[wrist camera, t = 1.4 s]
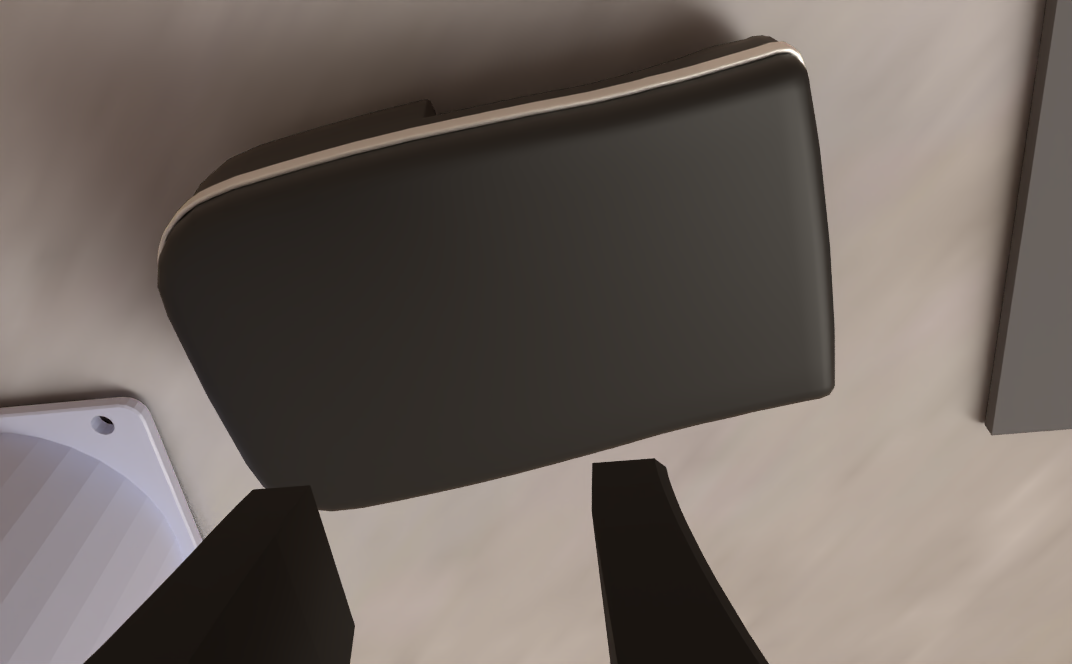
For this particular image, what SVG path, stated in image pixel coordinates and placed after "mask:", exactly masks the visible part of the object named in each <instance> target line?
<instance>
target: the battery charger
mask: <svg viewBox="0 0 1072 664" xmlns="http://www.w3.org/2000/svg"><path fill="white" fill-rule="evenodd" d="M175 224H176V225H175ZM157 264H158V289H159V292H160V295H161V298H162V301H163V304H164V307H165V310H166V313H167V316H168V318H169V320H170V322H171V324H172V326H173V328H174V330H175V332H176V334H177V336H178V338H179V340H180V342H181V344H182V346H183V348H184V350H185V352H186V354H187V356H188V358H189V360H190V362H191V364H192V366H193V368H194V370H195V372H196V374H197V376H198V378H199V380H200V382H201V384H202V386H203V388H204V390H205V392H206V394H207V396H208V398H209V399H210V401H211V403H212V405H213V406H214V408H215V410H216V412H217V414H218V415H219V417H220V419H221V421H222V422H223V424H224V426H225V428H226V429H227V431H228V433H229V435H230V436H231V438H232V440H233V442H234V443H235V445H236V447H237V449H238V450H239V452H240V454H241V456H242V457H243V459H244V461H245V463H246V464H247V466H248V467H249V468H250V470H251V471H252V472H253V474H254V475H255V476H256V478H257V479H258V480H259V481H260V483H261V484H262V485H263V487H264V488H266V489H267V488H280V487H293V486H306V485H310V486H311V489H312V492H313V496H314V499H315V502H316V505H317V508H318V510H324V511H339V510H348V509H357V508H365V507H370V506H375V505H380V504H385V503H390V502H395V501H400V500H404V499H409V498H414V497H419V496H423V495H428V494H433V493H438V492H442V491H447V490H451V489H456V488H460V487H465V486H469V485H473V484H477V483H481V482H486V481H490V480H494V479H498V478H502V477H506V476H510V475H514V474H518V473H522V472H526V471H530V470H533V469H537V468H541V467H545V466H548V465H552V464H556V463H560V462H563V461H567V460H570V459H574V458H578V457H582V456H585V455H589V454H593V453H596V452H600V451H604V450H607V449H611V448H615V447H618V446H622V445H625V444H629V443H632V442H635V441H639V440H642V439H646V438H649V437H653V436H656V435H660V434H663V433H667V432H671V431H675V430H679V429H683V428H687V427H691V426H695V425H699V424H703V423H708V422H712V421H717V420H722V419H726V418H731V417H735V416H739V415H743V414H747V413H751V412H755V411H760V410H765V409H770V408H775V407H780V406H784V405H789V404H794V403H799V402H804V401H809V400H814V399H820V398H823V397H825V396H827V395H830V393H831V392H832V390H833V389H834V386H835V334H834V311H833V292H832V274H831V257H830V242H829V232H828V222H827V213H826V203H825V194H824V184H823V175H822V165H821V155H820V146H819V140H818V133H817V126H816V120H815V114H814V108H813V102H812V96H811V90H810V84H809V77H808V73H807V70H806V66H805V63H804V60H803V58H802V56H801V53H800V52H799V51H797V50H796V49H795V48H794V47H792V46H791V45H789V44H787V43H786V42H784V41H781V42H778V41H777V40H775V39H773V38H772V37H769V36H763V35H761V36H752V37H749V38H747V39H744V40H739V41H735V42H730V43H726V44H722V45H717V46H713V47H710V48H707V49H704V50H701V51H698V52H695V53H693V54H690V55H687V56H685V57H682V58H679V59H676V60H673V61H670V62H667V63H664V64H660V65H657V66H654V67H651V68H647V69H644V70H641V71H637V72H634V73H630V74H627V75H623V76H619V77H615V78H611V79H607V80H603V81H599V82H595V83H591V84H587V85H583V86H578V87H572V88H567V89H562V90H557V91H551V92H546V93H541V94H535V95H530V96H525V97H520V98H516V99H511V100H506V101H501V102H496V103H491V104H486V105H482V106H478V107H473V108H468V109H463V110H458V111H454V112H449V113H444V114H440V115H436V113H435V110H434V108H433V106H432V104H431V102H430V101H429V100H422V101H417V102H413V103H409V104H405V105H401V106H397V107H393V108H389V109H385V110H381V111H377V112H373V113H369V114H365V115H362V116H358V117H354V118H351V119H347V120H344V121H340V122H336V123H333V124H329V125H326V126H323V127H319V128H316V129H312V130H309V131H306V132H302V133H299V134H295V135H292V136H289V137H286V138H282V139H279V140H276V141H273V142H270V143H266V144H263V145H260V146H257V147H255V148H253V149H250V150H248V151H246V152H244V153H242V154H239V155H237V156H235V157H233V158H230V159H228V160H227V161H226V162H225V163H224V164H223V165H221V166H220V167H219V168H218V169H217V170H216V171H215V172H213V173H212V174H211V175H210V176H209V177H208V178H207V179H206V180H205V181H204V182H203V183H201V184H200V186H199V188H198V189H197V191H196V192H195V194H194V196H193V197H192V198H191V199H189V200H188V201H187V202H186V203H185V204H184V205H183V206H182V207H181V208H180V209H179V210H178V211H177V212H176V214H175V215H174V217H173V218H172V220H171V221H170V223H169V224H168V226H167V227H166V229H165V231H164V232H163V235H162V238H161V241H160V244H159V249H158V257H157Z"/></svg>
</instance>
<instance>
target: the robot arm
mask: <svg viewBox="0 0 1072 664" xmlns="http://www.w3.org/2000/svg"><path fill="white" fill-rule="evenodd" d="M99 416H104V417H106V418H108V419H110V420H111V421H112V423H113V424H108V423H106V422H104V421H102V419H101V418H100V417H99ZM592 517H593V525H594V533H595V541H596V549H597V557H598V565H599V574H600V582H601V590H602V598H603V606H604V614H605V622H606V630H607V638H608V646H609V655H610V663H611V664H769V663H768V662H767V660H766V659H765V657H764V656H763V654H762V653H761V651H760V650H759V648H758V647H757V645H756V643H755V642H754V640H753V639H752V637H751V636H750V634H749V633H748V631H747V630H746V628H745V626H744V625H743V623H742V621H741V620H740V618H739V616H738V615H737V613H736V611H735V610H734V608H733V606H732V605H731V603H730V601H729V600H728V598H727V596H726V595H725V593H724V591H723V590H722V588H721V586H720V585H719V583H718V581H717V580H716V578H715V576H714V574H713V572H712V571H711V569H710V567H709V565H708V563H707V562H706V560H705V558H704V556H703V554H702V552H701V550H700V548H699V546H698V544H697V542H696V540H695V538H694V536H693V534H692V532H691V530H690V528H689V526H688V524H687V522H686V520H685V518H684V516H683V513H682V511H681V509H680V507H679V504H678V502H677V499H676V497H675V494H674V491H673V489H672V486H671V483H670V480H669V477H668V473H667V469H666V467H665V466H664V465H662V464H661V463H660V462H658V461H657V460H656V459H654V458H653V459H640V460H627V461H614V462H601V463H592ZM354 629H355V625H354V621H353V618H352V615H351V612H350V609H349V606H348V603H347V599H346V596H345V593H344V590H343V587H342V584H341V581H340V577H339V574H338V571H337V568H336V565H335V562H334V559H333V555H332V552H331V549H330V546H329V543H328V540H327V537H326V533H325V530H324V527H323V524H322V521H321V518H320V514H319V511H318V508H317V505H316V502H315V499H314V496H313V492H312V489H311V486H310V485H306V486H293V487H280V488H267V489H254V490H252V491H251V492H250V493H249V494H248V495H247V496H246V497H245V498H244V499H243V500H242V501H241V502H240V503H239V504H238V505H237V506H236V507H235V508H234V509H233V510H232V511H231V512H230V513H229V514H228V515H227V516H226V517H225V518H224V519H223V520H222V521H221V522H220V523H219V524H218V525H217V526H216V527H215V529H214V530H213V531H212V532H211V533H210V534H209V535H208V536H207V537H206V538H205V539H204V540H203V541H202V538H201V536H200V533H199V531H198V528H197V526H196V524H195V521H194V519H193V516H192V514H191V511H190V509H189V506H188V504H187V501H186V499H185V496H184V494H183V492H182V489H181V487H180V484H179V482H178V479H177V477H176V474H175V472H174V469H173V467H172V465H171V462H170V460H169V457H168V455H167V452H166V450H165V447H164V445H163V442H162V440H161V437H160V435H159V433H158V430H157V428H156V425H155V423H154V420H153V418H152V415H151V413H150V411H149V410H148V408H147V407H146V406H145V405H144V404H143V403H141V402H140V401H139V400H136V399H134V398H131V397H115V398H103V399H92V400H81V401H70V402H59V403H48V404H37V405H26V406H15V407H4V408H0V664H350V659H351V651H352V644H353V636H354Z"/></svg>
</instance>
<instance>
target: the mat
mask: <svg viewBox="0 0 1072 664" xmlns="http://www.w3.org/2000/svg"><path fill="white" fill-rule="evenodd" d="M985 426H986V427H987V429H988V430H989V432H990V433H991V435H1002V434H1014V433H1027V432H1039V431H1052V430H1064V429H1072V0H1047V1H1046V8H1045V15H1044V22H1043V29H1042V36H1041V43H1040V50H1039V56H1038V63H1037V70H1036V77H1035V84H1034V91H1033V98H1032V104H1031V111H1030V118H1029V125H1028V132H1027V139H1026V146H1025V153H1024V159H1023V166H1022V173H1021V180H1020V187H1019V194H1018V201H1017V208H1016V214H1015V221H1014V228H1013V235H1012V242H1011V249H1010V256H1009V262H1008V269H1007V276H1006V283H1005V290H1004V297H1003V304H1002V311H1001V317H1000V324H999V331H998V338H997V345H996V352H995V359H994V366H993V372H992V379H991V386H990V393H989V400H988V407H987V414H986V421H985Z"/></svg>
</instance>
